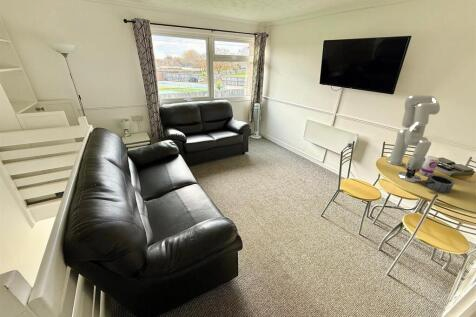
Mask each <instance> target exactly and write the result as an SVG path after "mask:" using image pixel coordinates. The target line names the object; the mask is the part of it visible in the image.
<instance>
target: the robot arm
mask: <svg viewBox="0 0 476 317" xmlns="http://www.w3.org/2000/svg"><path fill="white" fill-rule="evenodd" d="M440 109H441V106H440V103H439V102H438V100H437V99H436V97H434V96H433V95H423V94H412V95H409V96H408V97H407V98H406V99H405V102H404V114H403V118H402V121H401V127H403V128H405V129H403V128H402V129H400V130H398V131H397V134H396V140H395V142H394V145H393V147H392V151H391V153H389V154H388V155H386V157H388V158H387V159H386V162H387V163H389V164H391V165H395V166H403V165H404V162H403V160H404V157H405V156H406V152H407V150H408V147H409V146H413V147H415V148H414V150H413V153H412V155H411V156H410V157H409V159H407V162H406V163H405V168H404V170H406V172H407V173H406V176H408V177H410V175H411V171H412V170H414V173H413V175H412V177H414V175H416V173H418V171H420V169H421V167H422V165H423V163H424V161H425V158H426V157H427V154H428V152H429V150H430V148H431V146H432V141H431V140H429V139H428V138H427V137H425V136H424V133H425V130H426V126H427V125H428V124H429V119H430V115H435V116H436V115H438V114H439V113H440Z"/></svg>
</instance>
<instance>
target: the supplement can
mask: <svg viewBox="0 0 476 317" xmlns="http://www.w3.org/2000/svg"><path fill="white" fill-rule="evenodd" d="M439 162H440V159H439V158H438V157H435V156H430V155H427V156H425V159H424V163H423V165H422V167H421V169H419V170H418V171H419V174H420V175H423V176H425V177H428V176H429V175H434V172H435V170H436V169H437V165H438V163H439Z"/></svg>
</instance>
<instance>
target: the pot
mask: <svg viewBox="0 0 476 317" xmlns="http://www.w3.org/2000/svg"><path fill="white" fill-rule="evenodd" d="M421 183H422V184H424V186H425V188H428V189H429V190H431V191H433V192H436V193H441V194H450V192H451V191H452V189H453V187H454V185H455V181H454V179H452V178H448V177H445V176H442V175H437V174H432V175H429V176H427V178H426V179H425V180H423V179H421Z"/></svg>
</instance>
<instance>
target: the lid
mask: <svg viewBox="0 0 476 317" xmlns="http://www.w3.org/2000/svg"><path fill="white" fill-rule="evenodd" d="M406 173H407V171H398V173H397V176H398V178H400V179H401V180H404V181H406V182H409V183H413V184H414V183H417V184H418V183H421V182H422V178H421V177H420V176H418V175H417V174H415V175H414V177H412V175H413V173H414V170H412V171H411V175H410V177H408V176H406Z"/></svg>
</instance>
